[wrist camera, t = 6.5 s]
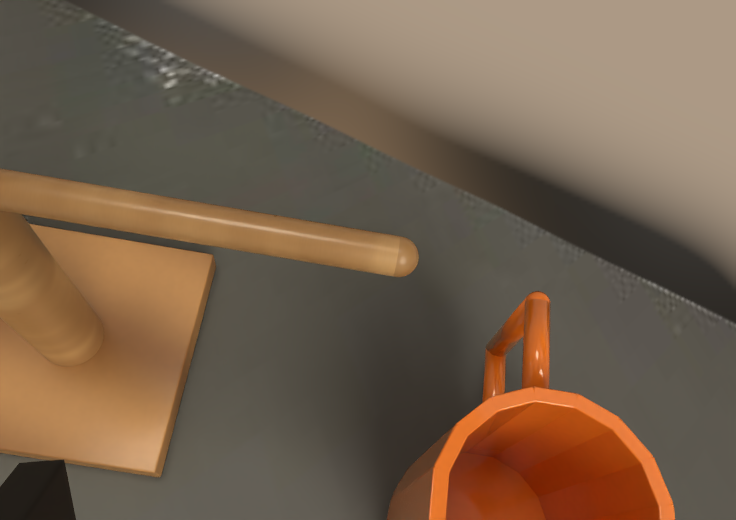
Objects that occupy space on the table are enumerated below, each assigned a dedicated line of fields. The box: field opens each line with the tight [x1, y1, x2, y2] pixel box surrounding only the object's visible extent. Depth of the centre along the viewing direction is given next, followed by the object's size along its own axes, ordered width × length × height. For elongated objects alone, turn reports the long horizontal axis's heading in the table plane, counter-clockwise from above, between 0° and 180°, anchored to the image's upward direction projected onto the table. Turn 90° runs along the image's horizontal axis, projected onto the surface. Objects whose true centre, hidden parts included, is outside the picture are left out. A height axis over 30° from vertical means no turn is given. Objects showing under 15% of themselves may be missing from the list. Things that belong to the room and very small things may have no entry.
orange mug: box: [387, 291, 675, 520], centre depth 30 cm, size 14×9×12 cm, turn 172°
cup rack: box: [0, 169, 419, 477], centre depth 27 cm, size 12×22×22 cm, turn 82°
